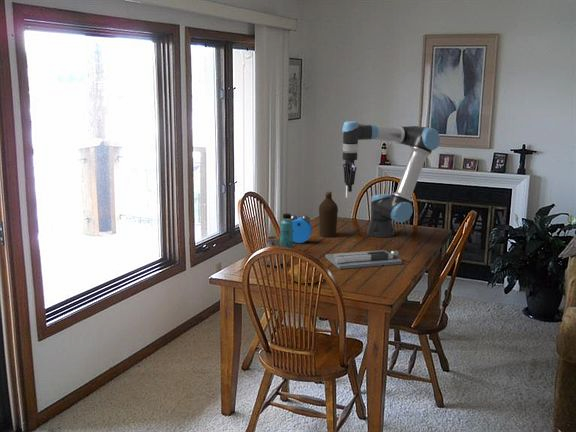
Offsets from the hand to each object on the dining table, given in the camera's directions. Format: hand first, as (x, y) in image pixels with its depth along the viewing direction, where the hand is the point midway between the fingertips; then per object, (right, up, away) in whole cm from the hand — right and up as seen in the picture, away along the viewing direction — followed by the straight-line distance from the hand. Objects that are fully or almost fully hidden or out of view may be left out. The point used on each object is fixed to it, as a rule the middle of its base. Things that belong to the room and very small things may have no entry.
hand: (348, 197), depth 317 cm
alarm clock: (-25, -24, +14) cm, 38 cm away
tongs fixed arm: (+7, -31, -23) cm, 39 cm away
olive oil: (-9, -21, +29) cm, 37 cm away
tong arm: (+4, -30, -21) cm, 37 cm away
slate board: (+5, -31, -19) cm, 37 cm away
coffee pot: (-39, -34, -30) cm, 60 cm away
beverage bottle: (-32, -28, -5) cm, 43 cm away
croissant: (-24, -38, -48) cm, 65 cm away
